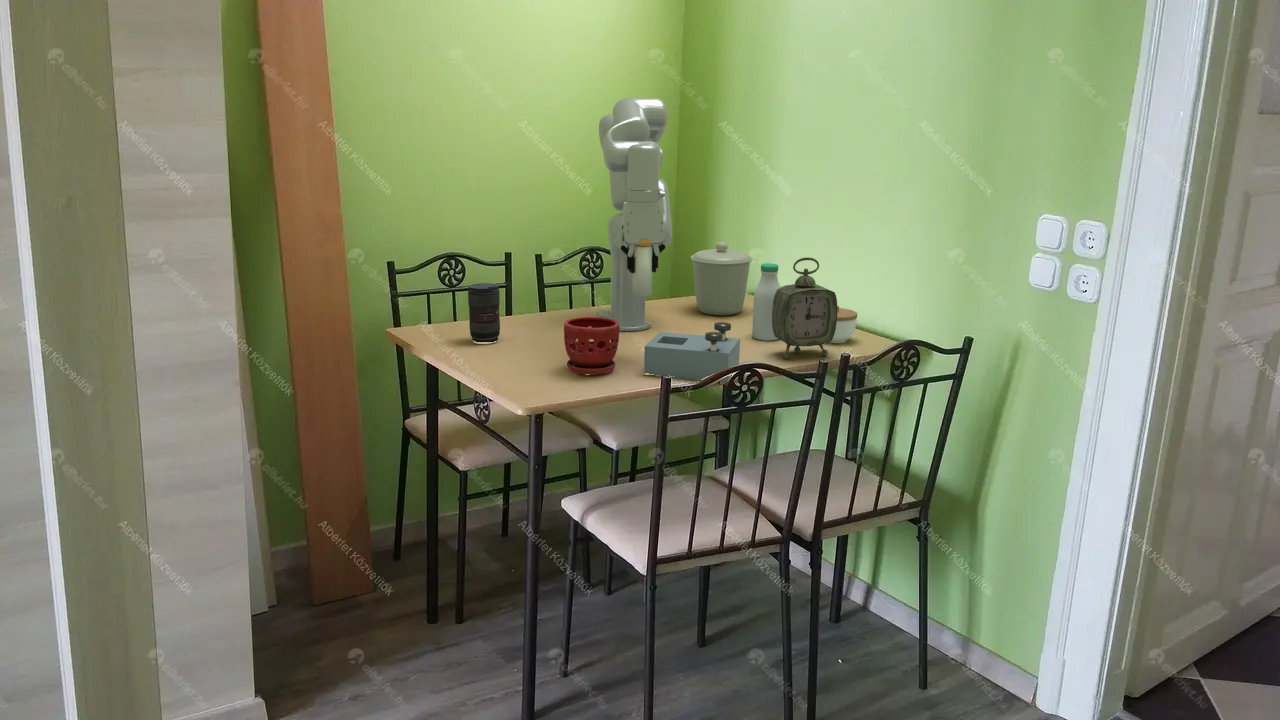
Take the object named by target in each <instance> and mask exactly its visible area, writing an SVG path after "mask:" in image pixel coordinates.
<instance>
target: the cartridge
mask: <svg viewBox="0 0 1280 720" xmlns="http://www.w3.org/2000/svg"><path fill="white" fill-rule="evenodd" d="M652 245H653V244H651V242H650V239H640V241H639V244H636V245H635V248H634V251H633V257H634V258H635V272H634V273H633V285H632V294H633V295H635V296H645V297H648V296H652V295H653V272H652V249H653V246H652Z"/></svg>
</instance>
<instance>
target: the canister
mask: <svg viewBox="0 0 1280 720" xmlns="http://www.w3.org/2000/svg"><path fill="white" fill-rule="evenodd" d="M728 247H729V245H728V243H727V242H726V241H717V243H716V244H715V248H711V249H710V248H709V249H704V250H699V251H697V252H695V253H694V254H692V255H690V260H691V262H692V267H693V279H694V280H693V281H694V290H695V302H696V306H697V308H698V310H699V311H700V312H701V313H703V314H706V315H711V316H720V317H721V316H732V315H736V314H738V313H740V312H741V311H742V309H743V307H744V303H745V297H746V291H747V287H748V286H747V285H748V281H749V280H748V278H749V272H750V265H751V262H752V261H753V256H751V255H749V254H748V253H747V252H744V251H741V250H738V249H737V250H735V249H728Z"/></svg>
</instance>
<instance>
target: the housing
mask: <svg viewBox="0 0 1280 720" xmlns="http://www.w3.org/2000/svg"><path fill="white" fill-rule="evenodd" d="M740 346H741V338H738V337H728V336H726V339H725V341H723V340H721V341H717V351H710V341H707V340H705V335H704V334H702V335H701V334H693V333H691V334H690V333H680V332H679V333H678V332H667V331H660V332H658V333H657V334H656V335H655V336H654V337H653V338H652V339H651V340H649V341H648V342H647V343H646V344H645V345H644V351H643V352H644V361H643V365H644V366H643V367H644V368H643V370H644V373H649V374H654V375H658V376H657V377H662V375H670V376H672V377H671V378H672V379H673V376H674V377H678V378H677V379H684V380H685V379H686V380H695V381H702V380H701V379H703V378H705V377H707V376H710V375H712V374H715V373H717V372H719V371H721V370H724V369H726V368H728V367H731V366H734V365H738V364H739V365H740V349H741V348H740ZM644 373H643V374H644ZM659 375H660V376H659ZM730 377H731V376H727V377H725V378H723V379H722V380H720V382H719V383H725V384H726V383H727V381H728V380H729V378H730ZM731 378H732V377H731ZM729 381H730V380H729Z"/></svg>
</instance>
